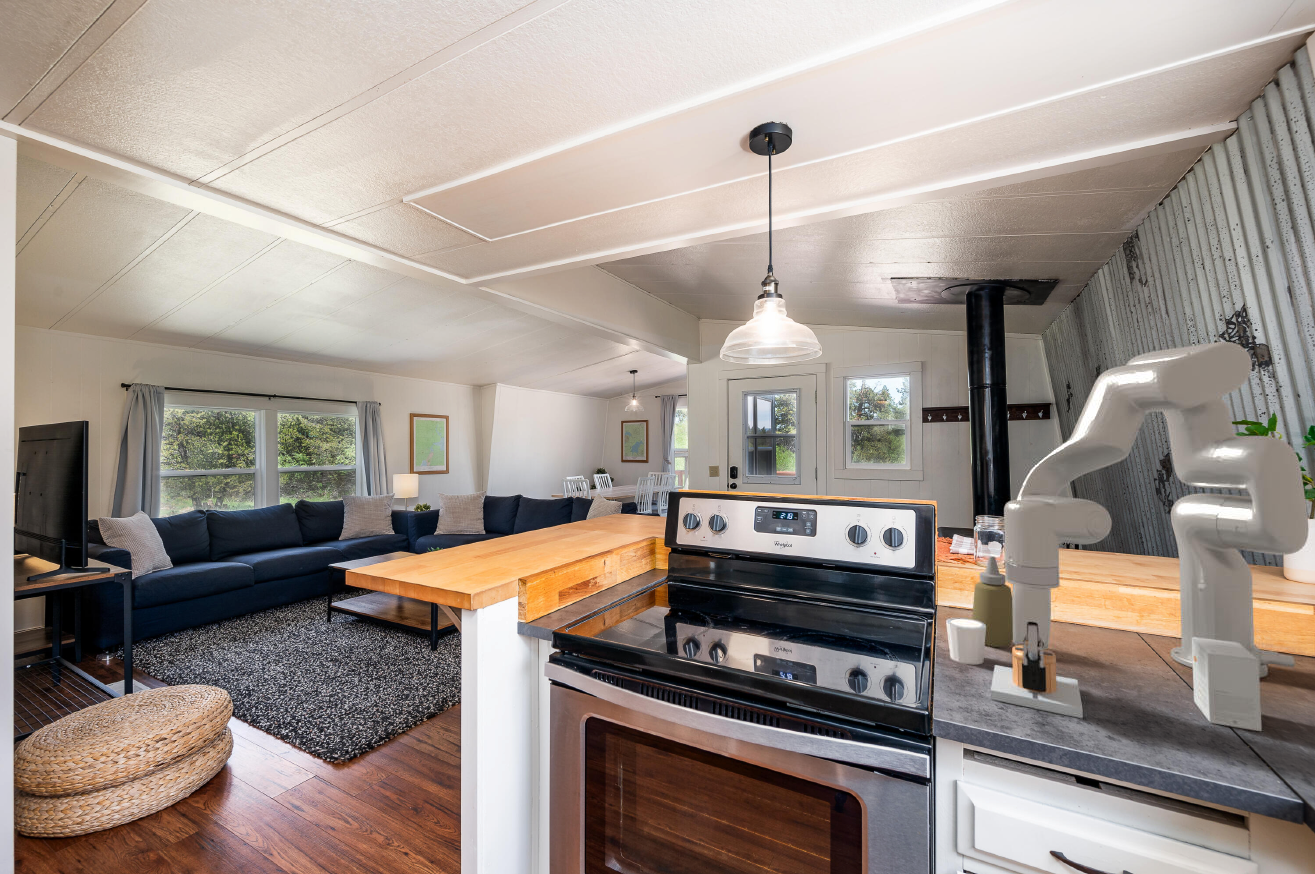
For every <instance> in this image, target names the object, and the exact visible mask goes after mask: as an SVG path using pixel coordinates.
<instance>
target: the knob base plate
mask: <svg viewBox="0 0 1315 874" xmlns="http://www.w3.org/2000/svg"><path fill="white" fill-rule="evenodd" d="M1056 687H1057V691H1055V692H1052V693H1038V692H1033V691H1029V690H1026V689H1023V688H1020V687H1019V686H1017V685H1016V684H1014V683H1013V667H1010V666H1009V667H1007V666H1003V665H997V664H994V669H993V674H992V680H991V687H990V700H992V701H997V702H1001V703H1003V702H1004V703H1008V704H1012V705H1017V706H1022V707H1025V708H1032V709H1036V710H1041V711H1046V712H1050V713H1055V714H1059V715H1064V716H1069V717H1074V718H1079V719H1083V717H1084V715H1083V704H1082V699H1081V693H1080V689H1079V681H1078V679H1075V678H1070V677H1064V676H1059V675H1056Z"/></svg>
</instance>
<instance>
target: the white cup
mask: <svg viewBox="0 0 1315 874" xmlns="http://www.w3.org/2000/svg"><path fill="white" fill-rule="evenodd" d="M945 622H946V632H947V640H948V649H949V655H950V659H951V660H953V661H956V662H958V663H961V664H965V665H981V664H983V663H984V658H985V647H986V646H985V635H986V625H985V624H984V623H982V622H980V621H976V620H972V618H971V619H970V618H965V617H951V618H947V619H946V620H945Z"/></svg>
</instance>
